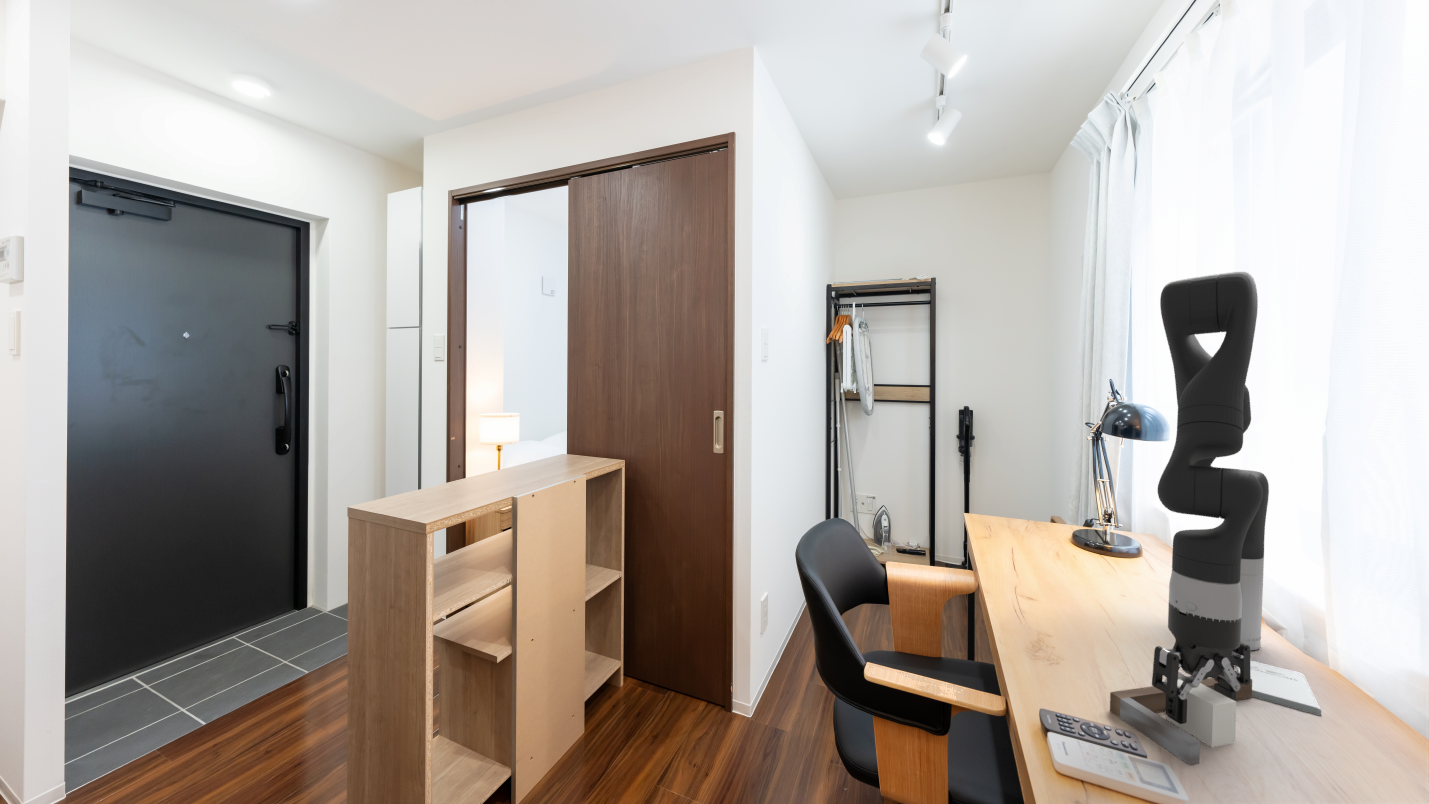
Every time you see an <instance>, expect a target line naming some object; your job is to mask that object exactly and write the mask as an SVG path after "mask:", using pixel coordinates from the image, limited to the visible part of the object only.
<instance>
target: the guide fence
mask: <svg viewBox="0 0 1429 804" xmlns="http://www.w3.org/2000/svg"><path fill="white" fill-rule="evenodd" d="M1214 683H1218V682H1216V681H1215V679H1214V678H1210V677H1209V678H1207V679H1205V680H1202V681H1201V684H1203V685H1205V686H1207V687H1209V688H1211V689H1213V690H1214ZM1109 695H1110V696H1109V712H1110V713H1111V714H1113V715H1115V716H1116V717H1117V718H1119V719H1121V720H1122V721H1123V722H1125V723H1126V724H1128V725H1129V726H1131V727H1133V728H1134V729H1135V730H1136V731H1138V732H1140V733H1141V734H1143V735H1144V736H1146V737H1147V738H1149V739H1150V740H1151V741H1153V742H1155V743H1156V744H1158V745H1159V744H1160V745H1159V746H1161V745H1162V746H1163V747H1162V746H1161V747H1162V748H1163V749H1165V748H1166V749H1165V750H1166V751H1168V752H1169V753H1171V754H1173V755H1174V756H1175V757H1177V758H1179V759H1180V760H1182V761H1183V762H1185V763H1186V764H1188V765H1196V764H1200V749H1201V747H1200V746H1201V740H1199V739H1197V738H1196V737H1194V736H1192V735H1191V734H1189V733H1188V732H1186V731H1184V730H1183V729H1181V728H1179V727H1178V726H1176V725H1175V724H1173V723H1171V722H1170V721H1168V720H1167V719H1166V718H1164V717H1162V716H1161V715H1159V714H1157V713H1162V712H1166V711H1165V707H1166V706H1165V703H1166V693H1164V692H1163V691H1161V690H1159V689H1157V688H1155V687H1154V686H1152V685H1151V686H1145V687H1144V686H1143V687H1137V688H1131V689H1124V690H1123V689H1122V690H1116V691H1110V692H1109ZM1252 698H1253V697H1252V679H1251V681H1250V684H1249V685H1244V684H1241V685H1240V690H1239V691H1236V701H1240V700H1247V699H1252Z"/></svg>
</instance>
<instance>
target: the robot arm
mask: <svg viewBox="0 0 1429 804" xmlns="http://www.w3.org/2000/svg"><path fill="white" fill-rule="evenodd" d="M1258 297H1259V296H1258V290H1257V285H1256V282H1255V279H1254V277H1253V276H1252V274H1250V273H1249V272H1247V271H1231V272H1224V273H1219V274H1217V273H1216V274H1209V275H1208V274H1207V275H1203V276H1195V277H1191V278H1190V277H1189V278H1184V279H1178V280H1173V281H1171V282H1168V283H1167V284H1165V286H1163V288H1162V291H1161V293H1160V298H1159V299H1160V301H1159V302H1160V303H1159V304H1160V306H1159V307H1160V314H1161V318H1162V324H1163V328H1164V332H1165V336H1166V340H1167V344H1168V348H1169V351H1170V357H1171V362H1172V366H1173V372H1174V381H1175V392H1176V393H1175V394H1176V402H1177V403H1176V404H1177V417H1176V418H1177V421H1176V422H1177V423H1176V436H1175V437H1176V438H1175V443H1174V447H1173V450H1172V452H1171V456H1170V457H1169V460H1168V462H1167V464H1166V466H1165V468H1164V469H1163V472H1162V474H1161V476H1160V479H1159V481H1158V484H1157V495H1158V496H1157V497H1158V499H1159V501H1160V502H1161V505H1163V506H1164V507H1165V509H1167V510H1169V511H1171V512H1173V513H1177V514H1183V515H1192V516H1198V517H1206V518H1207V517H1208V518H1215V519H1221V520H1223V521H1222V523H1220V524H1219V525H1217V526H1216V527H1212V528H1205V529H1184V530H1179V531H1177V532H1176V533H1175V534H1174V536H1173V539H1172V553H1171V554H1172V556H1171V557H1172V560H1171V562H1172V563H1171V572H1170V573H1171V575H1170V578H1169V586H1168V612H1167V613H1168V615H1167V619H1168V620H1167V628H1168V630H1169V631H1170V633H1171V634H1172V636H1173V637H1174V639H1175V642H1174V645H1173V647H1172V648H1170V649H1169V648H1167V649H1166V648H1164V647H1162V646H1160V645H1157V646H1156V647H1155V648H1154V653H1153V666H1152V677H1151V678H1152V679H1151V686H1154V687H1155V688H1157V689H1159V690H1161V691H1163V692H1164V693H1166V703H1165V706H1166V707H1165V711H1164V712H1165V715H1166V714H1167V716H1168V717H1169V718H1171V719H1172V720H1174V721H1176V722H1177V723H1179V724H1184V723H1186V722H1187V699H1186V697H1187V695H1188V694H1189V692H1190V690H1191V689H1192V688H1196V687H1198V686H1199V684H1200V683H1201V681H1202V680H1205V679H1207V678H1214V679H1215V681H1216V682H1218V683H1214V690H1215V691H1217V692H1218V693H1220V694H1222V695H1224V696H1226V697H1228V698H1230V699H1232V700H1234V701H1236V702H1237V700H1236V691H1239V690H1240V685H1241V684H1244V685H1249V684H1250V681H1251V679H1250V660H1251V651H1256V650H1259V649H1260V648H1261V640H1262V618H1263V617H1262V615H1263V590H1264V589H1263V588H1264V566H1265V535H1266V534H1265V530H1266V521H1267V520H1266V519H1267V512H1268V503H1269V493H1270V490H1269V489H1270V487H1269V486H1270V485H1269V481H1268V479H1267V476H1266V475H1265V474H1264V473H1262V472H1260V471H1255V470H1247V469H1239V468H1238V469H1237V468H1226V467H1216V466H1213V465H1212V464H1213V462H1214V461H1215V460H1216V459H1217V458H1224V457H1229V456H1233V455H1236V454H1238V453H1239V452H1240V451H1241V450H1242V448H1243V444H1244V434H1245V432H1246V431H1247V430H1248V428H1249V427H1250V425H1251V422H1252V410H1251V398H1250V391H1249V389H1248V387H1247V385H1246V383H1247V382H1246V381H1247V377H1248V372H1249V367H1250V361H1251V359H1252V358H1251V357H1252V351H1253V347H1254V346H1253V343H1254V337H1255V333H1256V324H1257V317H1258V308H1259V307H1258ZM1216 333H1217V334H1218V333H1225V335H1224V339H1223V341H1222V343H1221V345H1219V346H1220V347H1219V348H1218V349H1217V351H1216V352H1215V353H1214V355H1213V356H1212V355H1211V354H1209V353H1208V351H1206V350H1205V348H1203V346H1202V345H1201V343H1200V342H1199V340H1198V338H1197V337H1196V335H1204V334H1216ZM1237 666H1238V667H1239V668H1240V673H1238V671H1236V670H1235V667H1237ZM1180 669H1181V670H1183V672H1184V673H1185V674H1187V675H1190V676H1187V675H1185V674H1183V673H1181V672H1179V670H1180ZM1163 677H1165V679H1164V680H1163ZM1178 680H1181V681H1183V683H1182V685H1181V686H1180V688H1178V687H1177V682H1178Z"/></svg>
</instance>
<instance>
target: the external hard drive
mask: <svg viewBox="0 0 1429 804" xmlns="http://www.w3.org/2000/svg"><path fill="white" fill-rule="evenodd" d="M1236 670H1237V672H1238V673H1240V668H1239V667H1238V666H1236ZM1250 679H1252V698H1256V699H1259V700H1263V701H1267V702H1270V703H1273V704H1277V705H1281V706H1285V707H1287V708H1292V709H1296V710H1299V711H1302V712H1307V713H1310V714H1312V715H1313V714H1314V715H1318V716H1322V708H1321V706H1320V704H1319V703H1318V701H1317V699H1316V696H1315V694H1314V692H1313V690H1312V688H1311V687H1310V684H1309V682H1308V680H1307V678H1306V676H1305V675H1304V674H1303V673H1301V672H1299V671H1294V670H1291V669H1287V668H1282V667H1278V666H1275V665H1271V664H1267V663H1262V662H1258V661H1255V660H1251V659H1250Z"/></svg>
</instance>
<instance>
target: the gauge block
mask: <svg viewBox="0 0 1429 804" xmlns="http://www.w3.org/2000/svg"><path fill="white" fill-rule="evenodd" d="M1182 683H1183V681H1181V680H1178V682H1177V687H1178V688H1180V686H1181V685H1182ZM1186 699H1187V722H1186V723H1184V724H1179V723H1177V722H1176V721H1174V720H1172V719H1171V718H1169V717H1168V716H1167V714H1166V713H1165V720H1167V721H1169V722H1170V723H1172V724H1173V725H1175V726H1177V727H1178V728H1180V729H1181V730H1183V731H1185V732H1186V733H1188V734H1190V735H1191V736H1192V735H1193V737H1194V738H1196V739H1197V738H1198V740H1199V741H1200V742H1202V743H1204V744H1205V743H1206V744H1205V745H1207V746H1208V747H1210V746H1211V747H1210V748H1216V747H1221V746H1222V747H1223V746H1228V745H1234V744H1236V724H1237V723H1236V721H1237V720H1236V719H1237V700H1236V701H1234V700H1232V699H1230V698H1228V697H1226V696H1224V695H1222V694H1220V693H1218V692H1217V691H1215V690H1213V689H1211V688H1209V687H1207V686H1205V685H1203V684H1201V683H1200V684H1199V686H1198V687H1196V688H1192V689H1191V690H1190V692H1189V694H1188V695H1187V697H1186Z"/></svg>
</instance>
